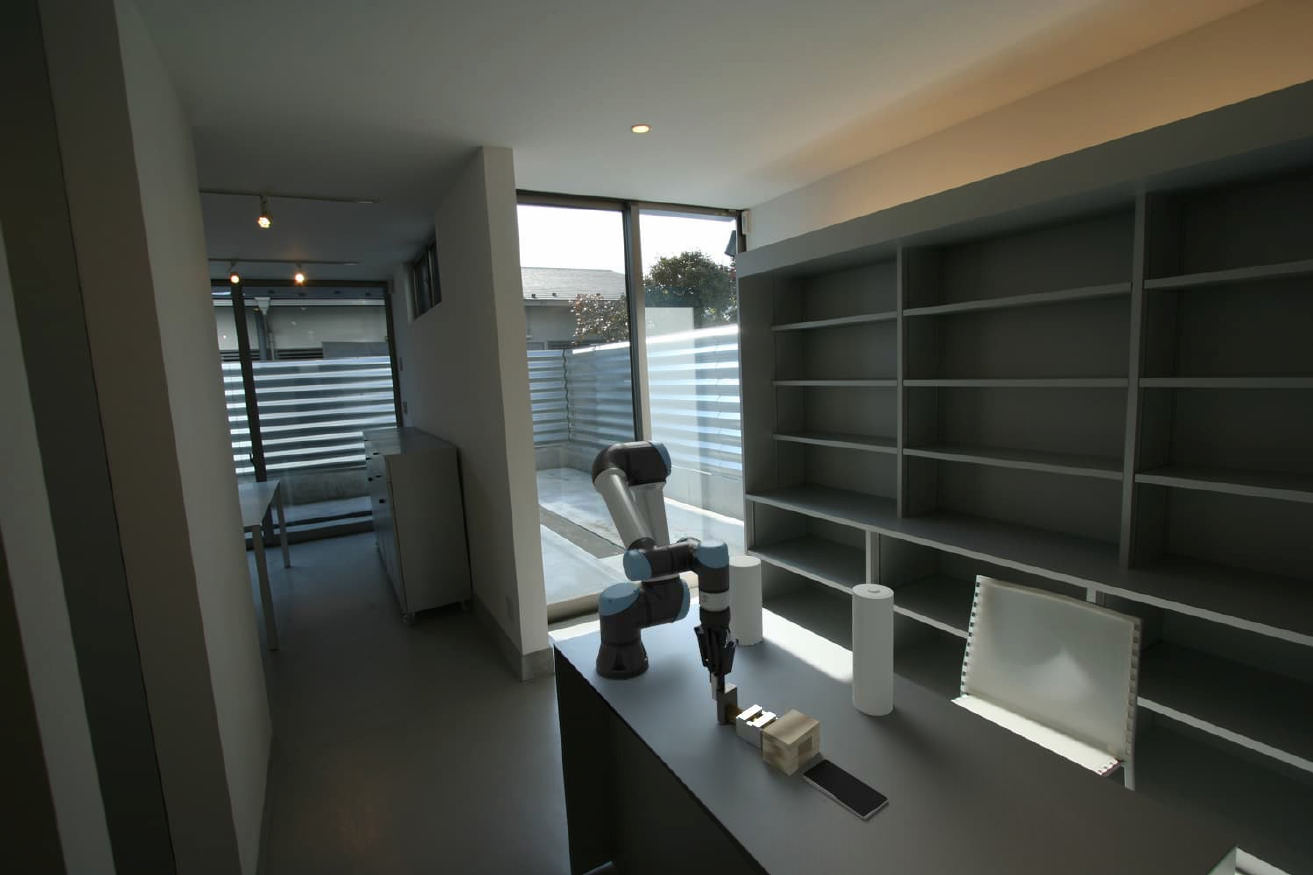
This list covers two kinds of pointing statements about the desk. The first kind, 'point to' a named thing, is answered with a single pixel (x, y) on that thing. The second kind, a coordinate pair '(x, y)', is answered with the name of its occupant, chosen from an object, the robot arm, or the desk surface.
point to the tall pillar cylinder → (745, 599)
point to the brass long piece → (730, 705)
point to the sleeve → (753, 725)
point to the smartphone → (845, 789)
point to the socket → (791, 741)
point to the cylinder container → (872, 648)
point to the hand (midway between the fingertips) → (717, 697)
